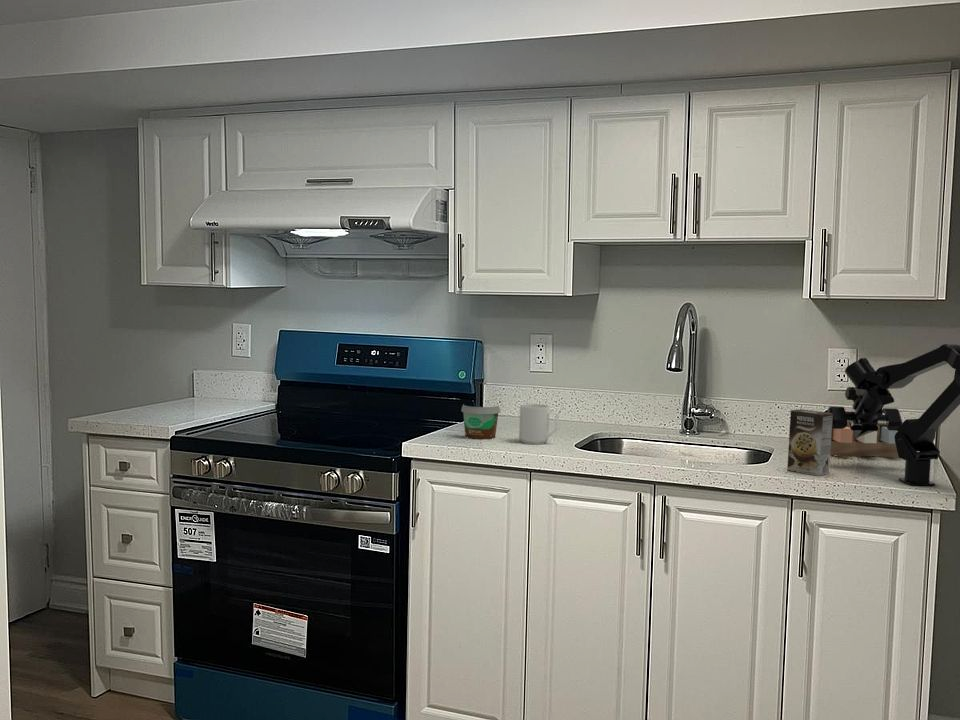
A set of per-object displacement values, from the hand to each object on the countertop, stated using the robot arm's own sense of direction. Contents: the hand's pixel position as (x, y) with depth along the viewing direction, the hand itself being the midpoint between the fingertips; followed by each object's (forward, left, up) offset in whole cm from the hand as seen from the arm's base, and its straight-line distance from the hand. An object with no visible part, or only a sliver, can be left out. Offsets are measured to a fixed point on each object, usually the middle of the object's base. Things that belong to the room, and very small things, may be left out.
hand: (855, 436), depth 261 cm
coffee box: (-14, +18, -8) cm, 24 cm away
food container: (+30, +104, -8) cm, 109 cm away
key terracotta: (+9, 0, -3) cm, 9 cm away
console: (+17, -7, -8) cm, 20 cm away
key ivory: (+9, -7, -3) cm, 12 cm away
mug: (+24, +86, -8) cm, 90 cm away
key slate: (+9, -14, -3) cm, 17 cm away
